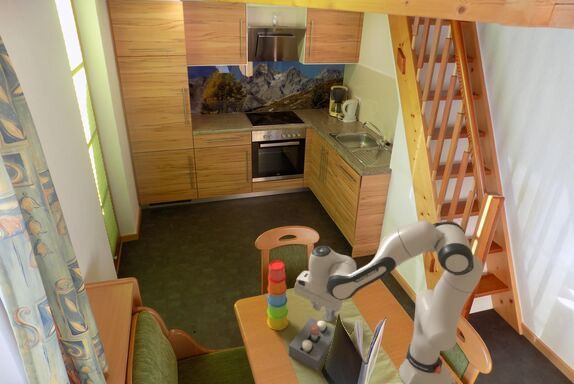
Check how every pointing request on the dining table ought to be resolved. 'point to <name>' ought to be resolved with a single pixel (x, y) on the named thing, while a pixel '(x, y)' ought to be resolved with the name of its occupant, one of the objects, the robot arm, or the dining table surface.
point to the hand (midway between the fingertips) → (316, 308)
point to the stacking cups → (277, 296)
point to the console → (318, 346)
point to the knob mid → (314, 332)
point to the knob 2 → (321, 326)
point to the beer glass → (329, 315)
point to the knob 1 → (307, 346)
